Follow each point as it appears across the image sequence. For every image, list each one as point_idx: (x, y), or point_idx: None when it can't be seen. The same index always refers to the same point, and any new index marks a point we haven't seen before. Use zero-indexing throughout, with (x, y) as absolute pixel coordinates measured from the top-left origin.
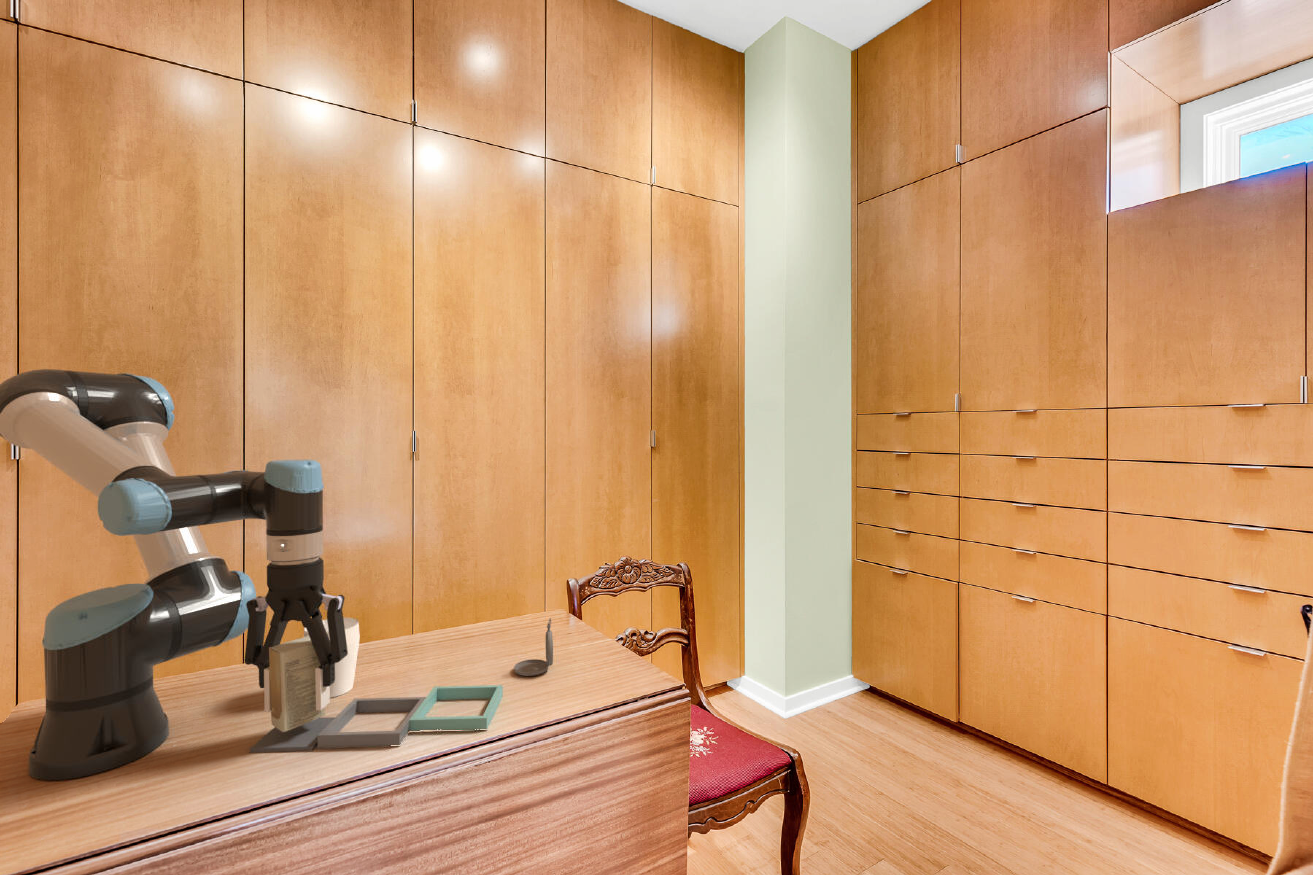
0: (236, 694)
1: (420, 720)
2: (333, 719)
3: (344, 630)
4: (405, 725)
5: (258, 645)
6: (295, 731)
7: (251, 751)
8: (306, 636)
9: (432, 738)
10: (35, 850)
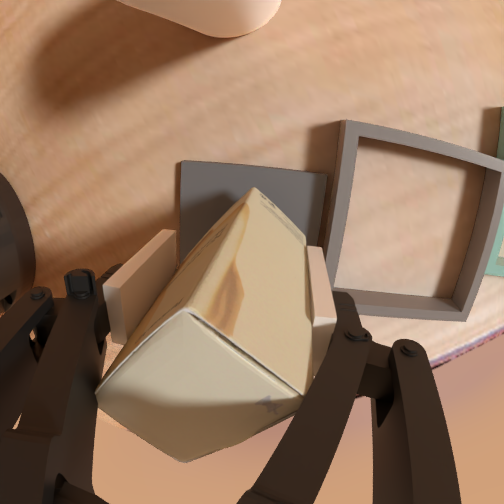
0: (33, 37)
1: (499, 275)
2: (310, 185)
3: (446, 438)
4: (476, 293)
5: (32, 356)
6: None
7: None
8: (173, 316)
9: (499, 288)
10: (100, 412)
